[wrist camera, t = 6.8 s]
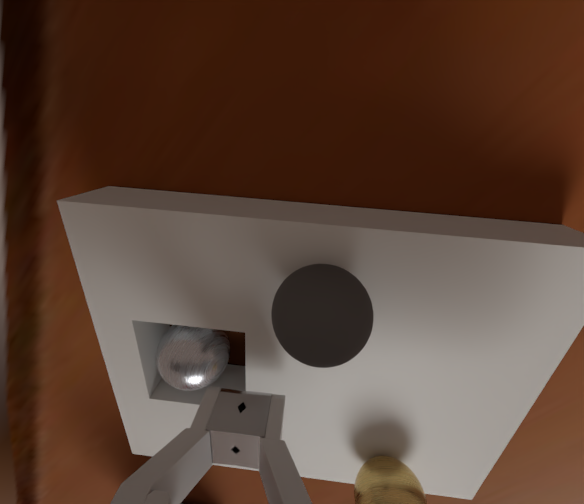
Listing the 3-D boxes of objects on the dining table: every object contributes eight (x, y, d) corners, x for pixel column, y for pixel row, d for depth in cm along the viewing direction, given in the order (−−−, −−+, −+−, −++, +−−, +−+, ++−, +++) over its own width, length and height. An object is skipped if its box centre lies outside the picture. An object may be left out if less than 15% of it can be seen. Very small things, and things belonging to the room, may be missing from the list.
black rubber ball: (371, 252, 9) (396, 307, 6) (356, 325, 10) (371, 398, 7) (280, 243, 9) (264, 293, 6) (276, 317, 10) (261, 385, 8)
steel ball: (194, 295, 14) (243, 318, 12) (199, 343, 15) (244, 369, 14) (133, 330, 11) (186, 364, 10) (146, 384, 13) (194, 421, 11)
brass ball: (421, 445, 13) (450, 533, 10) (406, 481, 14) (427, 568, 11) (355, 437, 13) (366, 521, 10) (346, 473, 14) (353, 557, 11)
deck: (562, 224, 10) (630, 251, 8) (450, 447, 16) (471, 499, 14) (108, 186, 11) (56, 200, 9) (156, 410, 17) (132, 453, 15)
